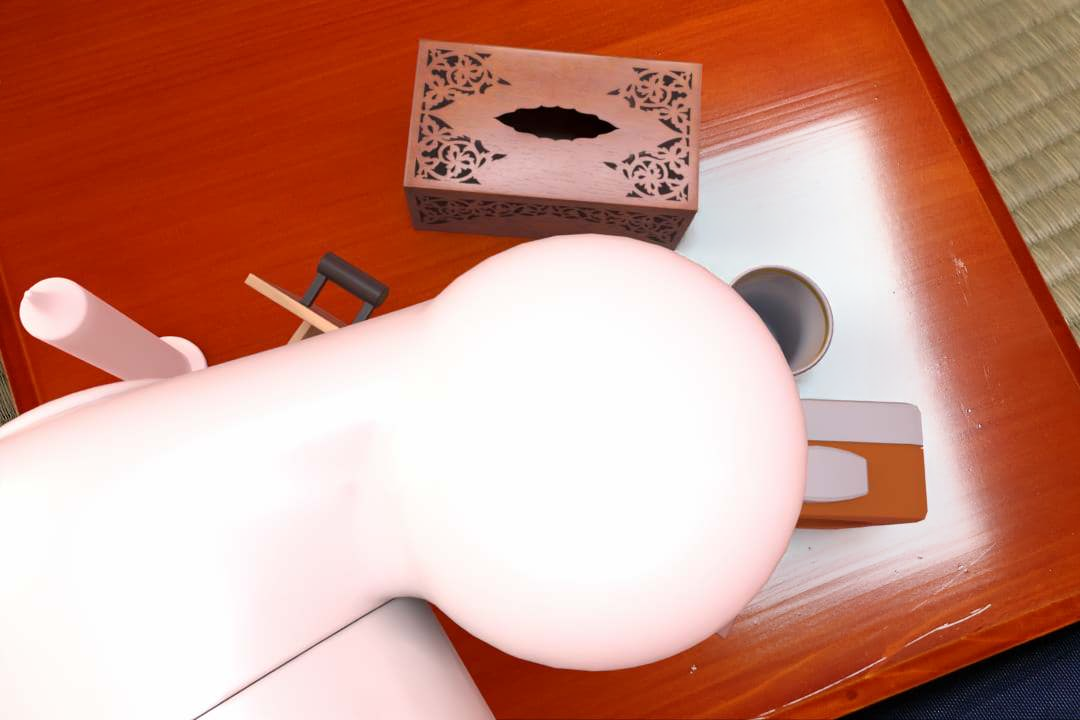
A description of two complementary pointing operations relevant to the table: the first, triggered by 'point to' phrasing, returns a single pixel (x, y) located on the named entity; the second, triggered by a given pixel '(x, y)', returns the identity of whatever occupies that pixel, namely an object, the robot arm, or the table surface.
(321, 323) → the lid
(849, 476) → the orange white box
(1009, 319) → the table surface
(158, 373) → the candle
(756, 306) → the ceramic cup
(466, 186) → the tissue box cover
